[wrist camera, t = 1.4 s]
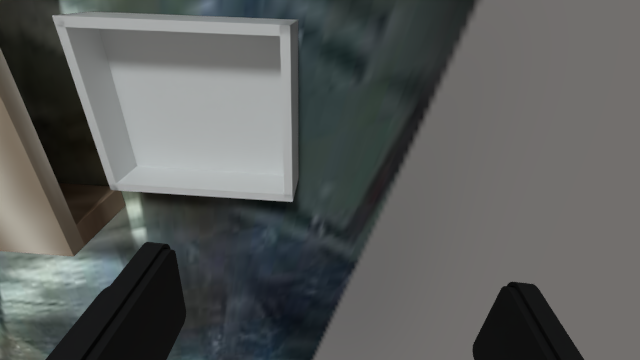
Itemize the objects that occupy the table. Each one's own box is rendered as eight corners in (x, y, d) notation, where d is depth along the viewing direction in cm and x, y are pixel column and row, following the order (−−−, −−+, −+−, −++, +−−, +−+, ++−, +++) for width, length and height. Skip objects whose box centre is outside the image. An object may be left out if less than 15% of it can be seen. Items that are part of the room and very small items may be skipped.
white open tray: (297, 19, 22) (290, 25, 19) (298, 178, 28) (292, 201, 25) (91, 11, 22) (51, 15, 19) (135, 168, 28) (110, 189, 25)
